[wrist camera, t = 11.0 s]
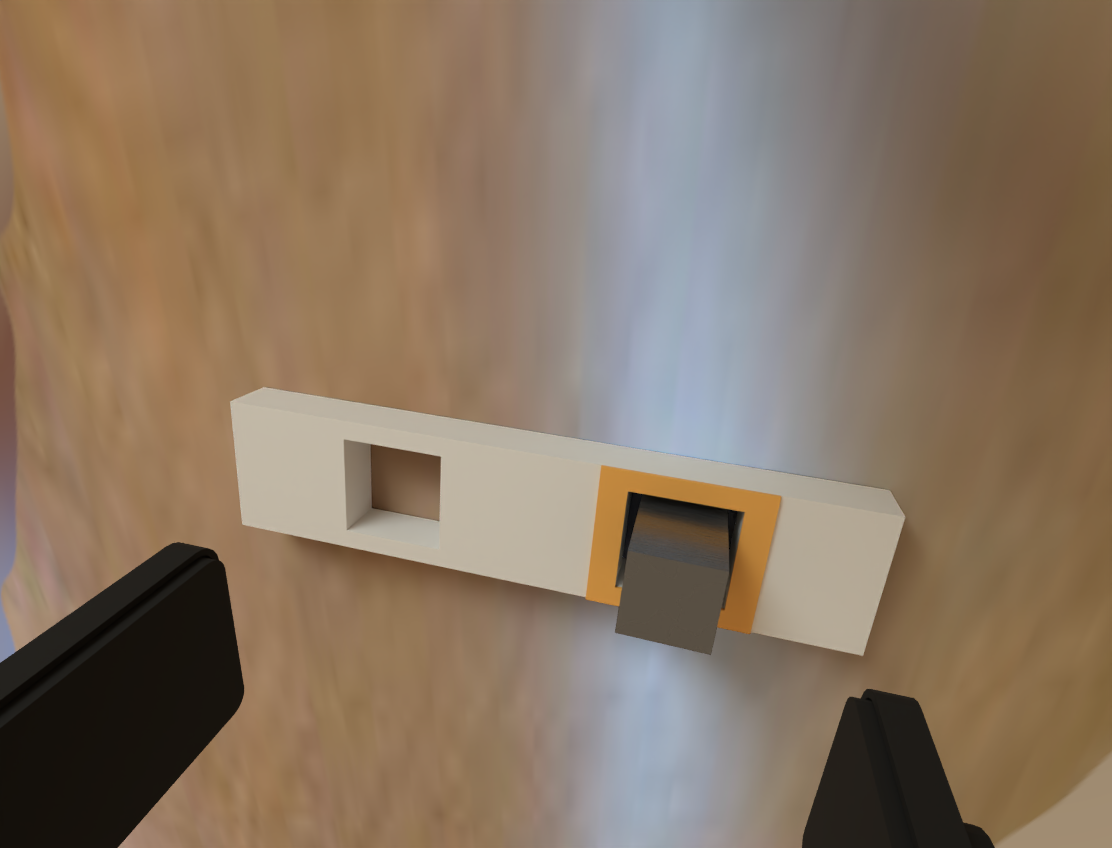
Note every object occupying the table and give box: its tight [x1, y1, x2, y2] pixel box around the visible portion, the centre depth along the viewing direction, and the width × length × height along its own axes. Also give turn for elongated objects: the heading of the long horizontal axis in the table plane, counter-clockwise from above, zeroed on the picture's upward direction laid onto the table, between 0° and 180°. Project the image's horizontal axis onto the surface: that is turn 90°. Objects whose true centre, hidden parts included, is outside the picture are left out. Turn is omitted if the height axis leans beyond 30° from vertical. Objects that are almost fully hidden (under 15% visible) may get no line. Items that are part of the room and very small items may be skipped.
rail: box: [230, 387, 905, 656], centre depth 36 cm, size 8×36×3 cm, turn 85°
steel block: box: [615, 494, 729, 655], centre depth 33 cm, size 4×4×8 cm
